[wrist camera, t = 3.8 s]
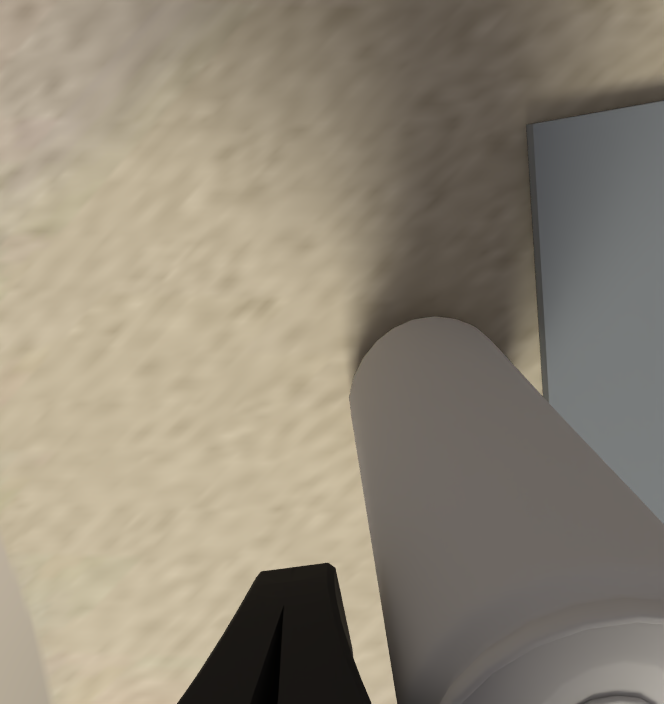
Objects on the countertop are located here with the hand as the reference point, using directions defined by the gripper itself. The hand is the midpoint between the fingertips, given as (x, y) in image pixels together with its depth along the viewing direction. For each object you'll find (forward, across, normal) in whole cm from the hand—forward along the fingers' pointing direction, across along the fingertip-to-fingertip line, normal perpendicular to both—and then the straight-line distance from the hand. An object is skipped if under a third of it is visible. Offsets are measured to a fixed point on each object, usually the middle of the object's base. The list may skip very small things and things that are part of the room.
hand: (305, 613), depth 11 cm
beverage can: (+9, -3, 0) cm, 10 cm away
